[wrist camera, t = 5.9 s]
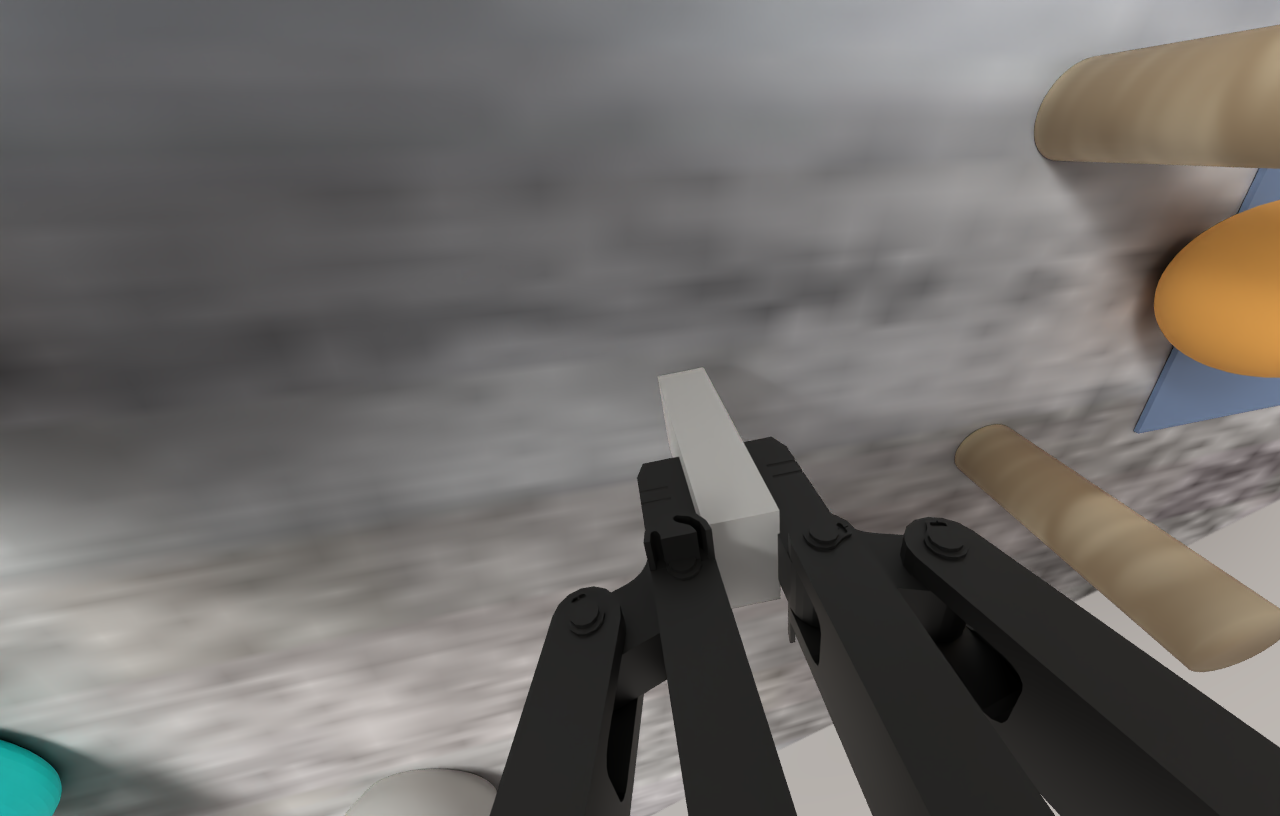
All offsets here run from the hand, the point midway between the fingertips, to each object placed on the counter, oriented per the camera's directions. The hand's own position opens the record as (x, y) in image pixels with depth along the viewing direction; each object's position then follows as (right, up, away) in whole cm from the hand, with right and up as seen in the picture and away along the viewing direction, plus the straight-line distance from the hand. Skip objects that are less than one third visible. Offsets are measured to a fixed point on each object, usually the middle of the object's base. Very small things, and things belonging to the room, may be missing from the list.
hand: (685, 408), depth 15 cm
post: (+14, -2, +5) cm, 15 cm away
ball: (+19, +4, -1) cm, 19 cm away
